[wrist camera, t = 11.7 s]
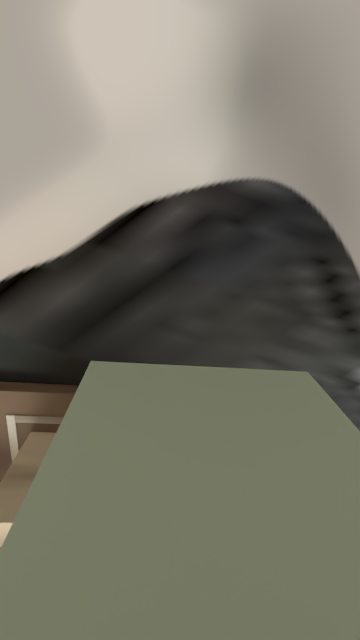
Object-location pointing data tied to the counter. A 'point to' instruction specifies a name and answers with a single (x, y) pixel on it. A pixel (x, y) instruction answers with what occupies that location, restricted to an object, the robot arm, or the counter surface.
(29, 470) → the beech block
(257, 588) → the sage block
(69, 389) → the walnut board
